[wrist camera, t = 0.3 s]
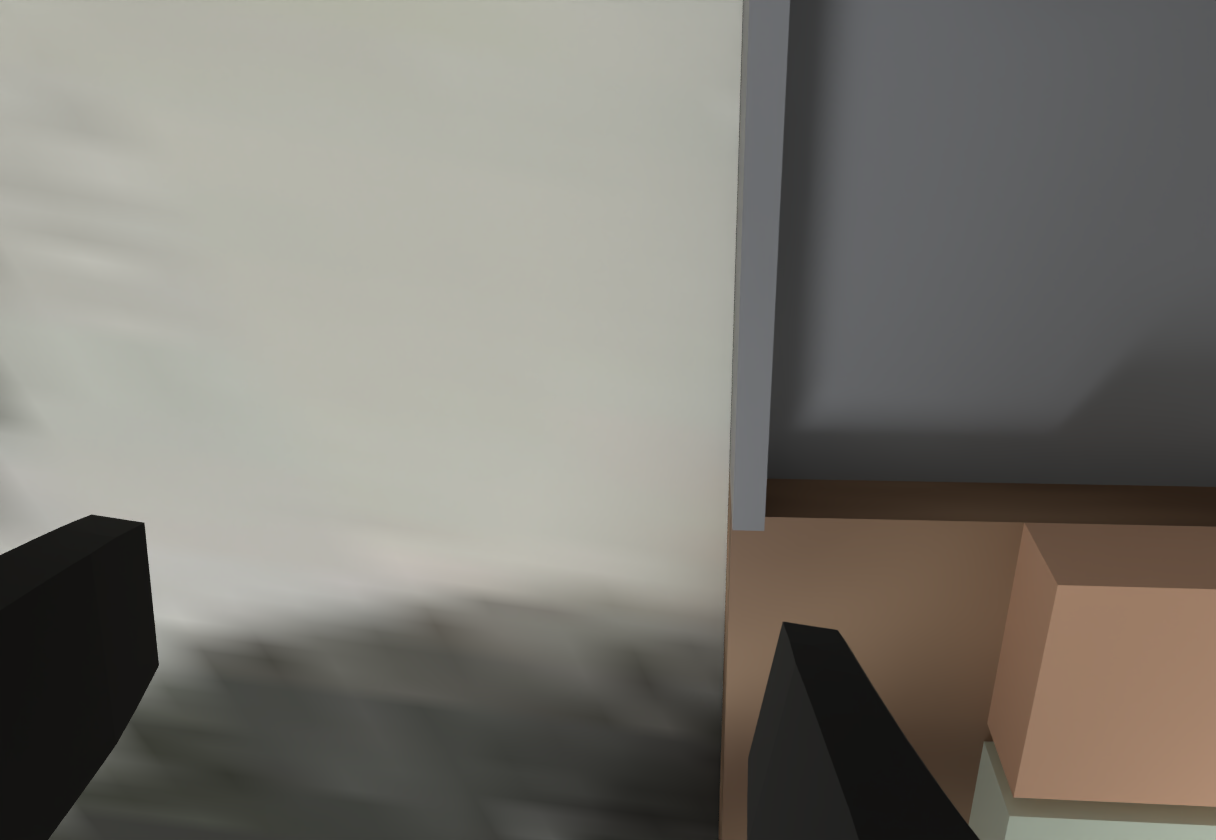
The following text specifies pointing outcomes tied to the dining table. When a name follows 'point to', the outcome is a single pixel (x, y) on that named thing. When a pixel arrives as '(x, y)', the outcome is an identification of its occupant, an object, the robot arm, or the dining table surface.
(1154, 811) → the tile sage
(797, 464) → the tray
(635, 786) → the dining table surface
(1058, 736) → the tile terracotta
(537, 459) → the dining table surface
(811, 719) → the robot arm
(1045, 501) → the walnut board
